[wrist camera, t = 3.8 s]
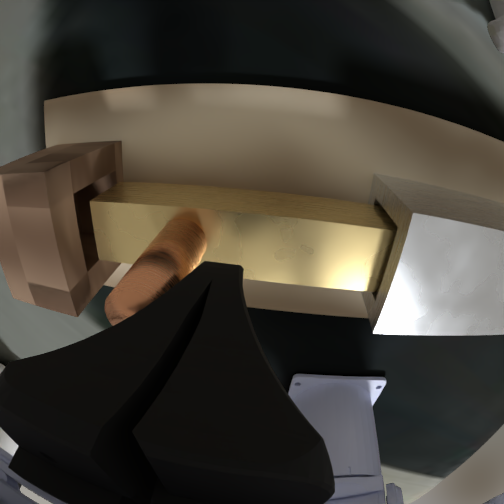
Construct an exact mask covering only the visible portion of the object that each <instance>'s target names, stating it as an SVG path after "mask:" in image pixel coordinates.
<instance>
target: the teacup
mask: <svg viewBox="0 0 504 504" xmlns="http://www.w3.org/2000/svg"><path fill="white" fill-rule="evenodd" d="M489 1H490V4H491V7H492V10H493V13H494V16H495V18H496V20H493V21H490V22H489V23H488V26H487V28H488V32H489V34H490V37H491V39H492V41H493V43H494V45H495V46H496V48H497V49H498V50H499V51H500V52H501V53H503V54H504V0H489Z"/></svg>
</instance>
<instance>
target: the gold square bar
mask: <svg viewBox="0 0 504 504" xmlns="http://www.w3.org/2000/svg"><path fill="white" fill-rule="evenodd" d="M90 208H91V215H92V222H93V228H94V234H95V240H96V246H97V251H98V257H99V260H105V261H112V262H119V263H126V264H133V265H132V266H131V268H130V269H129V270H128V271H127V273H126V274H125V275H124V276H123V278H122V279H121V280H120V282H119V283H118V284H117V285H116V287H115V288H114V289H113V291H112V292H111V293H110V295H109V296H108V297H107V299H106V301H105V312H106V315H107V318H108V320H109V321H110V323H111V324H112V326H114V325H116V324H118V323H119V322H121V321H123V320H125V319H126V318H128V317H130V316H132V315H133V314H135V313H137V312H138V311H140V310H141V309H143V308H144V307H146V306H147V305H149V304H150V303H152V302H153V301H154V300H156V299H157V298H159V297H160V296H161V295H163V294H164V293H165V292H167V291H168V290H169V289H170V288H172V287H173V286H174V285H176V284H177V283H178V282H179V281H181V280H182V279H183V278H184V277H185V276H187V275H188V274H189V273H190V272H191V271H193V270H194V269H195V268H196V267H197V266H199V265H200V264H201V263H202V262H204V261H210V262H218V263H227V264H235V265H241V266H242V267H243V269H244V273H243V279H250V280H259V281H268V282H277V283H287V284H296V285H306V286H315V287H325V288H336V289H346V290H357V291H368V292H379V289H380V286H381V283H382V280H383V276H384V273H385V270H386V267H387V264H388V260H389V257H390V254H391V250H392V247H393V243H394V240H395V236H396V232H397V229H398V227H397V225H396V224H395V222H394V221H393V220H392V218H391V217H390V216H389V215H388V213H387V212H386V211H385V209H384V208H383V207H382V206H378V205H371V204H365V203H358V202H351V201H344V200H337V199H329V198H321V197H313V196H305V195H297V194H288V193H279V192H269V191H259V190H249V189H238V188H226V187H213V186H199V185H183V184H166V183H144V182H119V183H117V184H116V185H114V186H112V187H111V188H109V189H108V190H106V191H105V192H103V193H101V194H100V195H98V196H97V197H95V198H94V199H92V200H91V201H90Z"/></svg>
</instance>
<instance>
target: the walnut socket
mask: <svg viewBox="0 0 504 504" xmlns="http://www.w3.org/2000/svg"><path fill="white" fill-rule="evenodd" d="M119 182H124V179H123V162H122V141H101V142H84V143H71V144H59V145H54V146H52V147H49V148H46V149H43V150H41V151H38V152H35V153H33V154H30V155H28V156H25V157H23V158H20V159H18V160H15V161H13V162H10V163H8V164H6V165H4V166H1V167H0V262H1V265H2V268H3V271H4V274H5V277H6V280H7V283H8V285H9V288H10V291H11V293H12V296H13V298H15V299H18V300H21V301H24V302H27V303H30V304H33V305H37V306H40V307H43V308H47V309H50V310H53V311H57V312H60V313H64V314H68V315H71V316H75V317H78V316H79V315H80V313H81V312H82V311H83V310H84V308H85V307H86V306H87V304H88V303H89V302H90V301H91V299H92V298H93V297H94V296H95V294H96V293H97V292H98V291H99V290H100V288H101V287H102V286H103V285H104V283H105V282H106V281H107V280H108V279H109V277H110V276H111V275H112V274H113V273H114V271H115V270H116V269H117V268H118V267H119V266H120V264H121V263H119V262H112V261H105V260H99V257H98V251H97V246H96V240H95V234H94V228H93V222H92V215H91V208H90V201H91V200H92V199H94V198H95V197H97V196H98V195H100V194H101V193H103V192H105V191H106V190H108V189H109V188H111V187H112V186H114V185H116V184H117V183H119Z"/></svg>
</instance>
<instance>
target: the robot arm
mask: <svg viewBox="0 0 504 504" xmlns="http://www.w3.org/2000/svg"><path fill="white" fill-rule="evenodd" d="M243 273H244V269H243V267H242V266H241V265H235V264H227V263H218V262H210V261H204V262H202V263H201V264H200V265H199V266H197V267H196V268H195V269H194V270H193V271H191V272H190V273H189V274H188V275H187V276H185V277H184V278H183V279H182V280H181V281H179V282H178V283H177V284H176V285H174V286H173V287H172V288H170V289H169V290H168V291H167V292H165V293H164V294H163V295H161V296H160V297H159V298H157V299H156V300H154V301H153V302H152V303H150V304H149V305H147V306H146V307H144V308H143V309H141V310H140V311H138V312H137V313H135V314H133V315H132V316H130V317H128V318H126V319H125V320H123V321H121V322H119V323H118V324H116V325H114V326H112V327H110V328H108V329H106V330H103V331H101V332H99V333H97V334H95V335H93V336H91V337H88V338H86V339H84V340H82V341H79V342H76V343H74V344H71V345H69V346H66V347H63V348H60V349H57V350H54V351H51V352H48V353H44V354H41V355H37V356H33V357H29V358H24V359H20V360H16V361H11V362H9V363H8V364H7V365H6V367H5V368H4V370H3V371H2V372H1V374H0V427H1V428H2V429H3V431H4V432H5V433H6V434H7V435H8V436H9V437H10V438H11V439H12V440H13V441H14V442H15V443H16V444H17V445H18V448H17V450H16V452H15V454H14V456H12V455H11V454H9V453H8V452H6V451H5V450H4V449H2V448H1V447H0V504H38V503H37V502H35V501H33V500H32V499H30V498H28V497H27V496H25V495H24V494H22V493H21V491H20V489H19V485H18V483H20V484H21V485H23V486H24V487H26V488H28V489H29V490H31V491H33V492H34V493H35V494H37V495H39V496H41V497H42V498H44V499H46V500H48V501H49V502H51V503H53V504H386V503H385V491H384V483H383V476H382V474H381V465H380V457H379V449H378V441H377V434H376V427H375V421H374V414H373V408H372V406H373V404H374V403H375V401H376V399H377V398H378V396H379V395H380V393H381V391H382V390H383V388H384V386H385V385H386V382H387V381H386V378H385V377H357V376H330V375H313V374H295V375H293V377H292V381H291V385H290V388H289V392H288V393H287V392H286V390H285V389H284V387H283V385H282V384H281V382H280V381H279V379H278V377H277V376H276V374H275V372H274V371H273V369H272V367H271V366H270V364H269V362H268V360H267V358H266V356H265V354H264V352H263V350H262V348H261V345H260V343H259V341H258V338H257V336H256V333H255V331H254V328H253V325H252V322H251V319H250V316H249V313H248V309H247V305H246V301H245V297H244V291H243ZM16 481H17V482H18V483H17V482H16ZM386 489H387V496H386V501H387V504H404V503H403V496H402V491H401V488H400V487H398V486H395V484H394V483H390V484H386ZM484 504H504V493H502V494H500V495H498V496H496V497H494V498H492V499H490V500H489V501H487V502H485V503H484Z"/></svg>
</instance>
